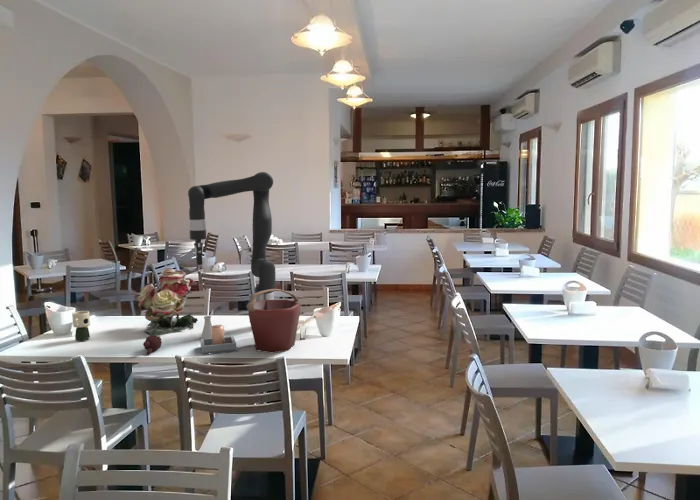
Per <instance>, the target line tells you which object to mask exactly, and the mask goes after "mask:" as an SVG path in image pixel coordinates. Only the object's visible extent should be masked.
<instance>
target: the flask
mask: <svg viewBox="0 0 700 500" xmlns="http://www.w3.org/2000/svg"><path fill="white" fill-rule="evenodd" d="M211 318H212V315H205V316H203V319H204V325H203V328H202V332H201V335H200V340H201V339H207V338H212V329H211V327H212V326H213V325H212V321H211Z"/></svg>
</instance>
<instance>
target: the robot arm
mask: <svg viewBox="0 0 700 500" xmlns="http://www.w3.org/2000/svg"><path fill="white" fill-rule="evenodd" d="M273 185H274V179H273V176H272V175H271V174H270V173H268V172H266V171H259V172H258V173H256V174H254V175H251V176H248V177H243V178H240V179H231V180H223V181H216V182H212V183H208V184H201V185H193V186H191V187H190V188H189V189H188V192H187V196H188V202H189V203H188V204H189V213H188V215H189V219H188V220H189V225H188V227H189V239H190V240H191V241H194V243H193V247H194V252H195V257H196V259H195V260H196V264H197V266H200V265H201V266H202V265H203V257H204V256H203V253H204V242H202V240H206V239H207V222H206V213H205V200H207V199H216V198H217V199H218V198H223V197H229V196H231V195H237V194H240V193H246V192H252V195H253V206H252V207H253V208H252V251H251V252H252V254H251V261H250V272H251V274H252V275H253V277H256V278H258V284H257V285H256V286H255V287H254V294H255V293H257V292H260V291H263V290H269V289H275V287H276V266H275V263H274V262H273V261H271V260H268V259H267V257H266V255H267V254H266V252H267V245H268V243H269V241H270V239H271V236H272V232H273V220H272V213H271V208H270V201H269V199H270V189H271V188H273ZM262 300H275V291H271V292H267V293H264V294H261V295H259V296H257V298H256V302H257V301H262Z"/></svg>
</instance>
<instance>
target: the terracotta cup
mask: <svg viewBox="0 0 700 500" xmlns="http://www.w3.org/2000/svg"><path fill="white" fill-rule="evenodd" d="M211 329H212V345H216V344H225V342H224V337H225V326H224V325H222V324H213V325H212V327H211Z"/></svg>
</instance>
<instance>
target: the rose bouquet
mask: <svg viewBox="0 0 700 500" xmlns="http://www.w3.org/2000/svg"><path fill="white" fill-rule="evenodd" d="M160 274H162V275H159V277H158V278H159V280H158V283H159V284H160V285H161V288H158V287H155V286H154V284H153V283H150V284H148V285H144V287H142V288H140V292H138V295H139V296H136V297H135V301H136V302H138V305H137V306H138V308H140V312H143V311H144V312H143V313H144V314H145V315H144V318H145V320H147V321H148V322H149V324H147V329H144V333H149V334H150V335H155V336H160V335H161V336H162V335H166V334H171V333H172V334H173V333H183V332H184V331H186V330H190V331H191V330H193V329H194V322H199V320H198V318H196V317H194V316H193V315H192V314H193V313H194V312H193V311H191V313H188V314H185V315H183V316H181V317H180V314H181V313H183V310H184V307H185V305H186V301H187V299H188V298H187V295H189V294H194V292H193V291H191V288H192V286H191V285H192V284H194V282H195V280H194V279H191V278H190V277H189V278H185V277H186V275H187V272H184V271H182V270H176V269H174V268H171V267H165V268H164V269H162V270H161V271H160ZM174 316H175V317H174Z"/></svg>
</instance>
